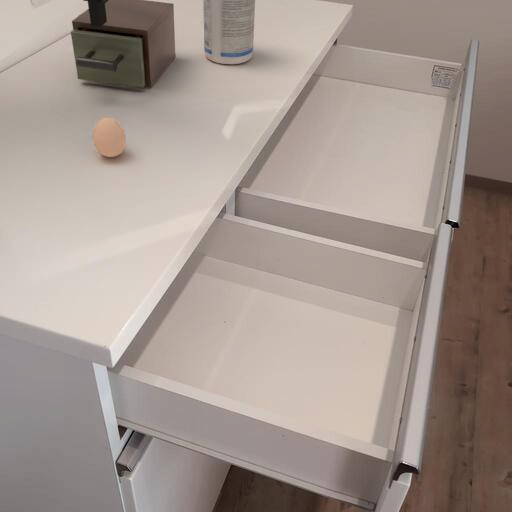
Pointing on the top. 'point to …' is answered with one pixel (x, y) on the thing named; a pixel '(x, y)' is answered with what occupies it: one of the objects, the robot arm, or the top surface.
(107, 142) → the egg
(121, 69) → the drawer
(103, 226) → the top surface
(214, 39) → the supplement tub
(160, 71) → the cabinet
